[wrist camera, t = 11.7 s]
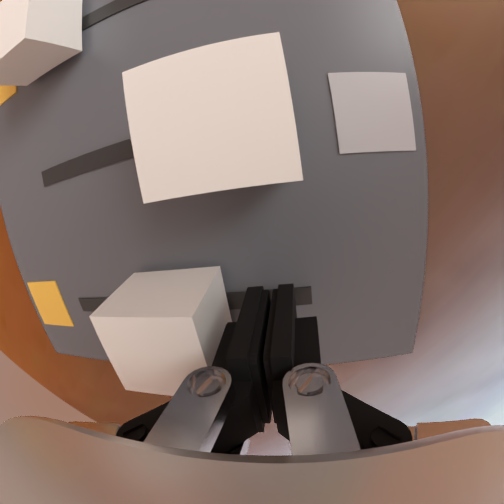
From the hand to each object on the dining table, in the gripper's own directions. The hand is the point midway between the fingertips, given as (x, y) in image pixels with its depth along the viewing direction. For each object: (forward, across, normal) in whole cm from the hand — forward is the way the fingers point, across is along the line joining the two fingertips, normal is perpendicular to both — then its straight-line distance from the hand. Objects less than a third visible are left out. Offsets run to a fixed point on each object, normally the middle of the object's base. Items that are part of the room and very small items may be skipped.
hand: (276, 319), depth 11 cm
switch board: (+4, +5, -7) cm, 9 cm away
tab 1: (+1, +9, -14) cm, 17 cm away
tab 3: (+1, +4, 0) cm, 4 cm away
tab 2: (+1, +1, -7) cm, 7 cm away
